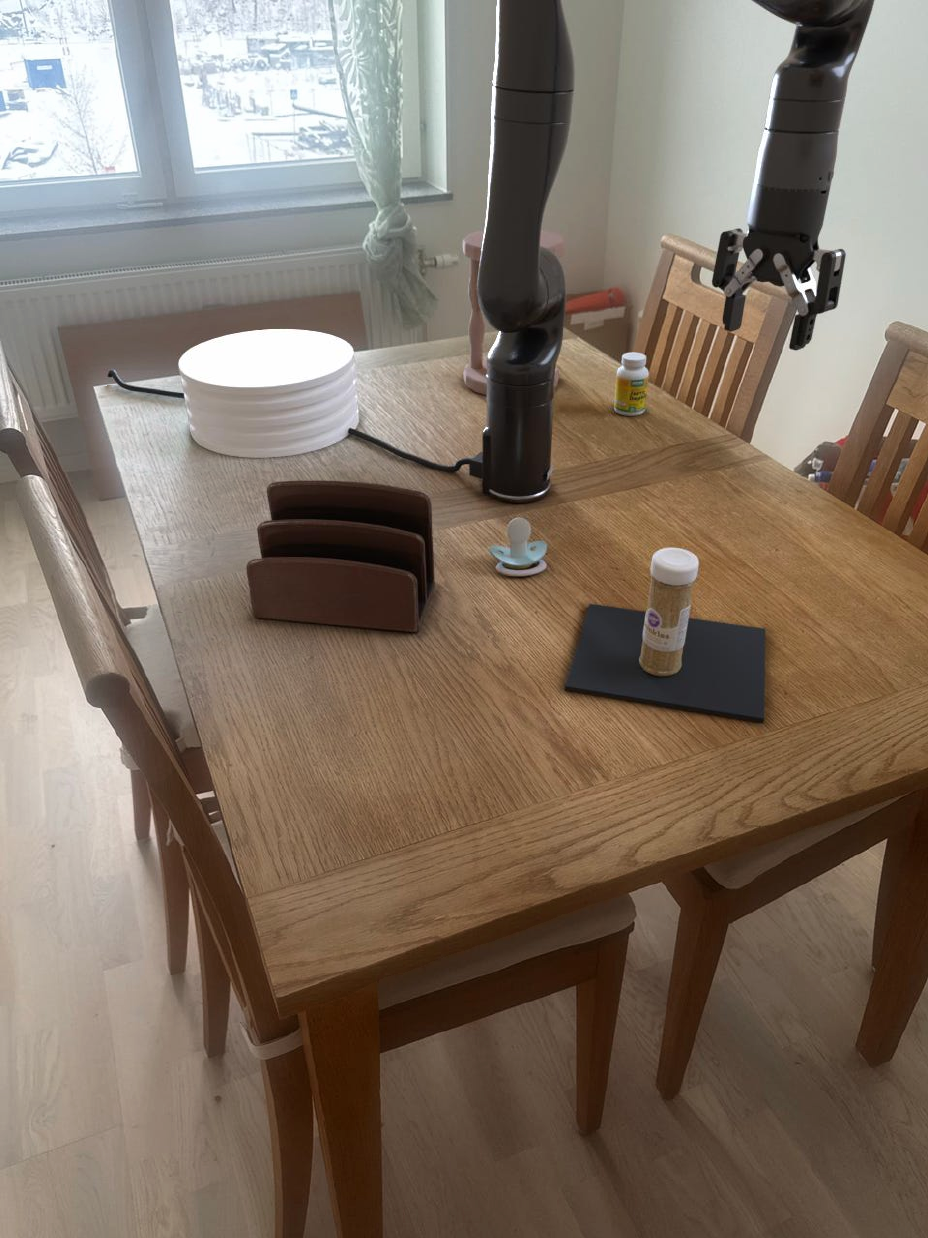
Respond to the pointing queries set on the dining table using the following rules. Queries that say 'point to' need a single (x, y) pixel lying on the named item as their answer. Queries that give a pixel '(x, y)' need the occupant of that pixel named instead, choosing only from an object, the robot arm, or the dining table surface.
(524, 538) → the pacifier
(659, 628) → the sprinkles bottle
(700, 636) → the placemat
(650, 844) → the dining table surface
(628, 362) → the supplement bottle
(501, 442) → the robot arm
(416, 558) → the letter holder
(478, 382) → the hourglass
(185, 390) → the plate stack
